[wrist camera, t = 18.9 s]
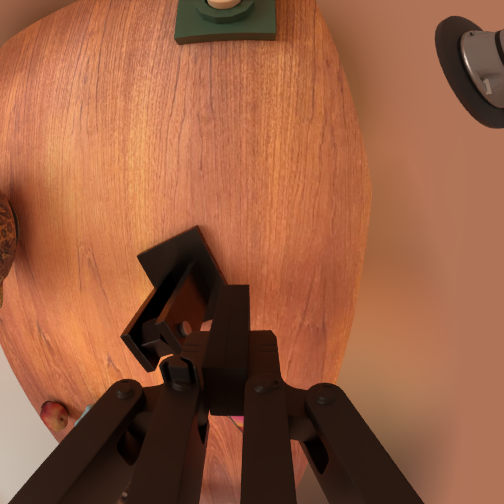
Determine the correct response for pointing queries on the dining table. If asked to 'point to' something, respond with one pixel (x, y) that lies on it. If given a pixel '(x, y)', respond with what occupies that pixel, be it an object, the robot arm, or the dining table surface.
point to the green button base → (225, 21)
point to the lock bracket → (175, 293)
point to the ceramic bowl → (7, 238)
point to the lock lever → (154, 339)
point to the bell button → (223, 3)
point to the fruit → (54, 415)
